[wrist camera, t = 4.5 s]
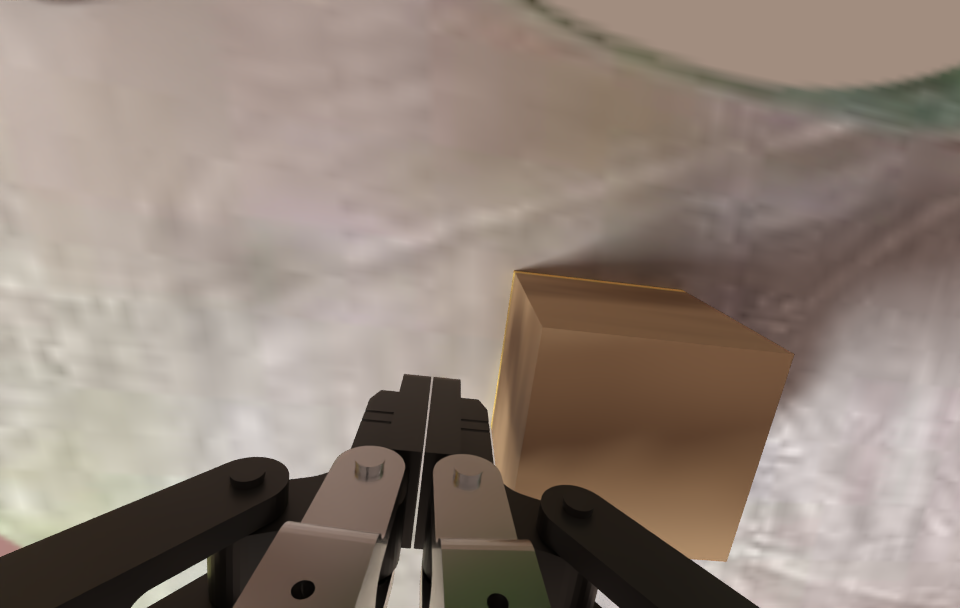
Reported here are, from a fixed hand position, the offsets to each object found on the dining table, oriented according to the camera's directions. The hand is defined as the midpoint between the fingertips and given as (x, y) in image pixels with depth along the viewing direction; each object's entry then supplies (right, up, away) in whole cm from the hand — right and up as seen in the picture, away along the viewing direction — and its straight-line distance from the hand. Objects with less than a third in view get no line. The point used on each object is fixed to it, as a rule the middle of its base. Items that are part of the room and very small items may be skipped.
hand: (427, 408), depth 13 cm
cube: (+5, +1, +5) cm, 7 cm away
